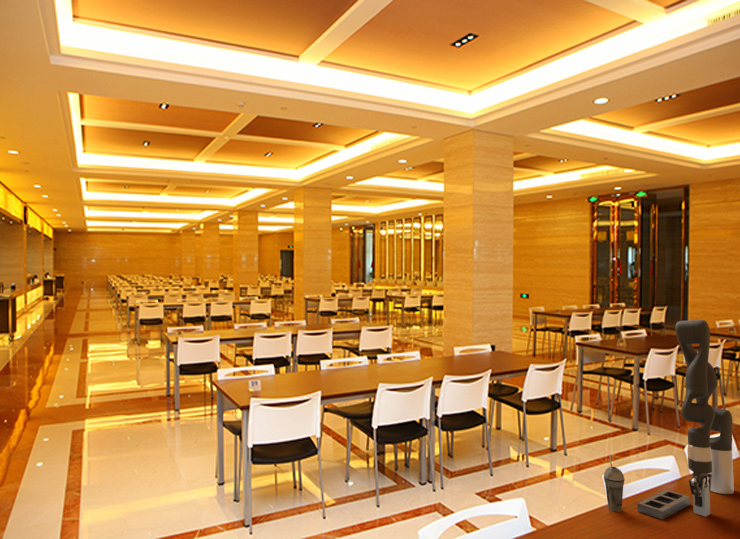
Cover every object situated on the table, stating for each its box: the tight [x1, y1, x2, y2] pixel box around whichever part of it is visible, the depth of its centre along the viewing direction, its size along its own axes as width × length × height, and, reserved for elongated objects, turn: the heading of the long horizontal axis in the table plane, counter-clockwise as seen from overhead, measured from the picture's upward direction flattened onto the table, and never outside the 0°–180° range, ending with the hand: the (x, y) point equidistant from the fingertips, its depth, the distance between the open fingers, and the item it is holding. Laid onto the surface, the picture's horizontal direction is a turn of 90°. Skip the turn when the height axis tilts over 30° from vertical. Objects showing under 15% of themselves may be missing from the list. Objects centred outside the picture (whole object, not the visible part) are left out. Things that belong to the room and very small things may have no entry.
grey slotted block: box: [637, 489, 691, 520], centre depth 193 cm, size 22×9×3 cm, turn 125°
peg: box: [692, 485, 711, 518], centre depth 188 cm, size 4×4×10 cm
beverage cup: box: [603, 454, 625, 513], centre depth 192 cm, size 7×7×20 cm
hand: (701, 504), depth 188 cm, fingers closed on peg, 4 cm apart
